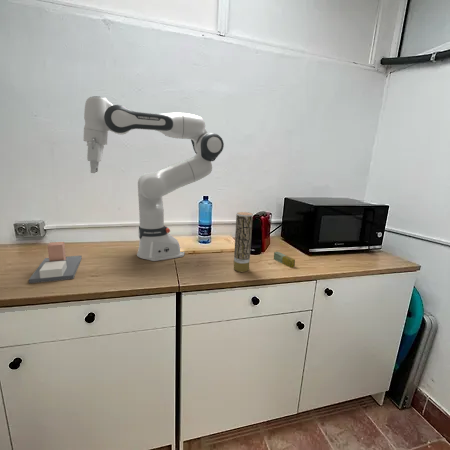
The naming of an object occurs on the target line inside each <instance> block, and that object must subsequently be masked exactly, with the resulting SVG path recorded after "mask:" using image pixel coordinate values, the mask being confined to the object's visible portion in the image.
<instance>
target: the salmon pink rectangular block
mask: <svg viewBox="0 0 450 450" xmlns="http://www.w3.org/2000/svg"><path fill="white" fill-rule="evenodd" d="M65 245H66V244H65V241H57V242H56V241H54V242H49V243H48V244H47V254H48V258H49V261H58V260H66V257H67V256H66V255H67V254H66V248H65V247H66V246H65Z"/></svg>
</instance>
